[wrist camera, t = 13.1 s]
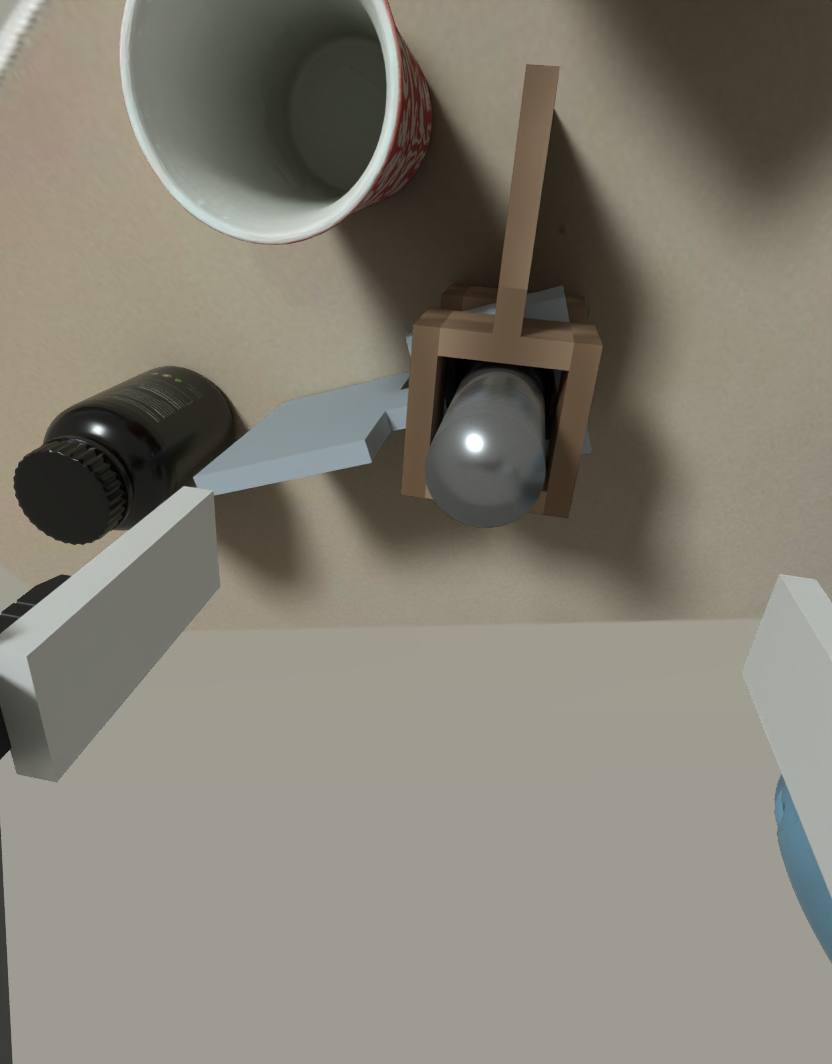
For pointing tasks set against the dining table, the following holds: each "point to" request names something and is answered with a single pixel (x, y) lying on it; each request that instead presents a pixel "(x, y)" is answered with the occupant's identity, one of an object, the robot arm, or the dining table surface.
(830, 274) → the dining table surface
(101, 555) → the robot arm
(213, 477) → the hinge leaf swing
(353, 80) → the mug
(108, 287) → the dining table surface
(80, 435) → the supplement bottle
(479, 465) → the hinge pin
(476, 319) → the brown frame with handle
